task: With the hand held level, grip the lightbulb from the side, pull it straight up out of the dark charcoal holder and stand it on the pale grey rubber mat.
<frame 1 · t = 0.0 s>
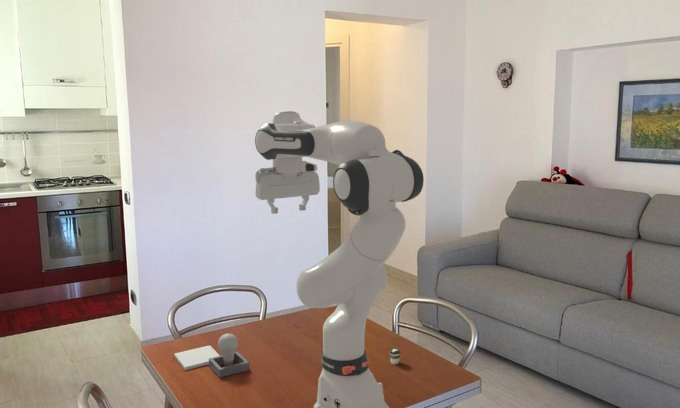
hand: (288, 211, 171), 48 cm above the table, tool pointing down, fingers open, 8 cm apart
holder: (229, 368, 175), on the table
lightbulb: (229, 368, 175), resting in holder
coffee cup: (394, 364, 177), on the table
mat: (198, 358, 182), on the table
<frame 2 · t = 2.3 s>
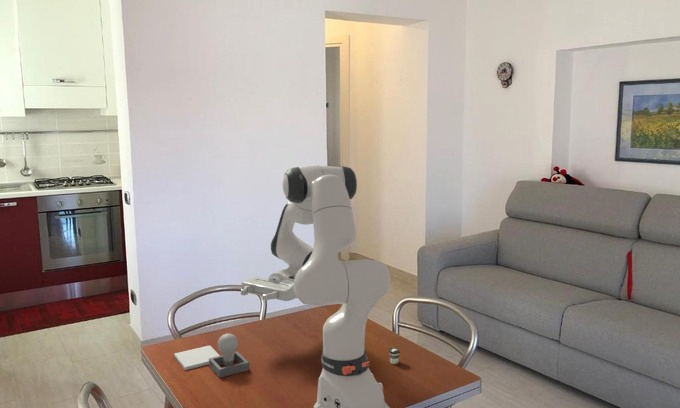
hand: (253, 295, 181), 20 cm above the table, tool horizontal, fingers open, 8 cm apart
nothing on the table moved.
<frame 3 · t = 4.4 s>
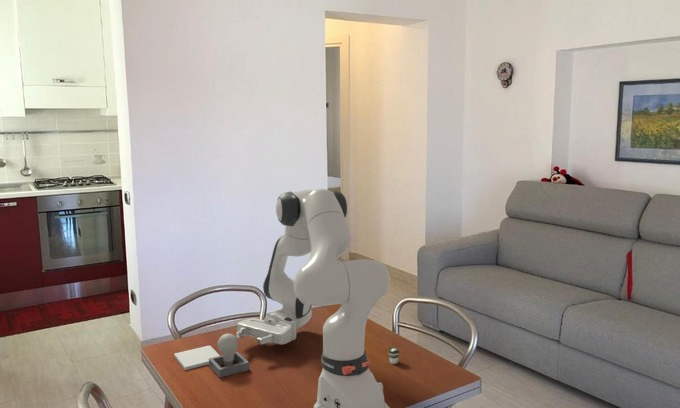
hand: (248, 338, 181), 6 cm above the table, tool horizontal, fingers open, 8 cm apart
nothing on the table moved.
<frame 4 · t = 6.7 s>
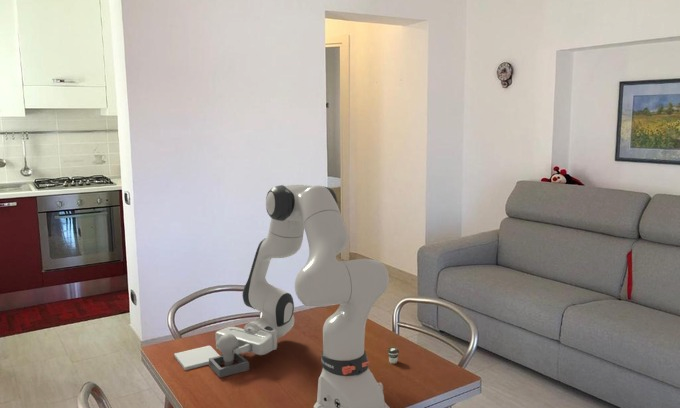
hand: (226, 349, 173), 7 cm above the table, tool horizontal, fingers closed on lightbulb, 6 cm apart
lightbulb: (229, 368, 175), resting in holder, touching gripper
everything else where it was.
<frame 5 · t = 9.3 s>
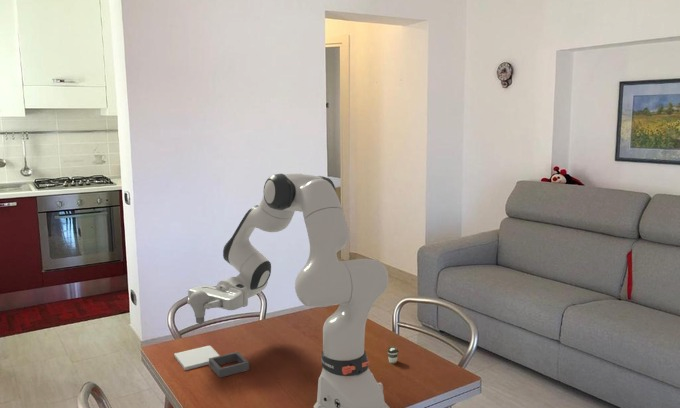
hand: (197, 304, 178), 19 cm above the table, tool horizontal, fingers closed on lightbulb, 6 cm apart
lightbulb: (200, 324, 180), point 12 cm above the table, touching gripper
everything else where it was.
when the fingers open (9 cm above the table, at t = 12.1 s): lightbulb drops 1 cm, resting on mat.
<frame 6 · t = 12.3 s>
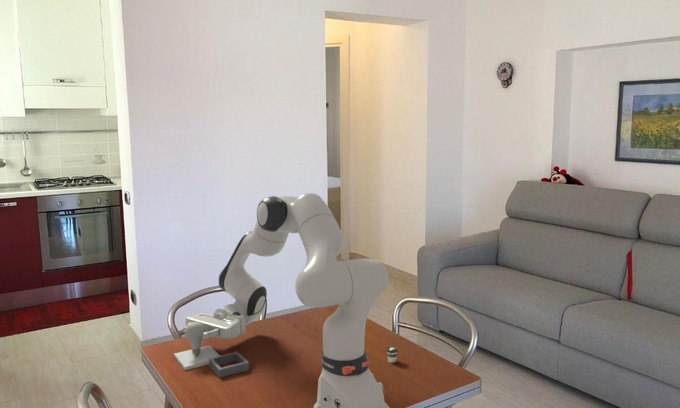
hand: (194, 333, 179), 9 cm above the table, tool horizontal, fingers open, 8 cm apart
lightbulb: (196, 355, 182), point 1 cm above the table, touching gripper, mat
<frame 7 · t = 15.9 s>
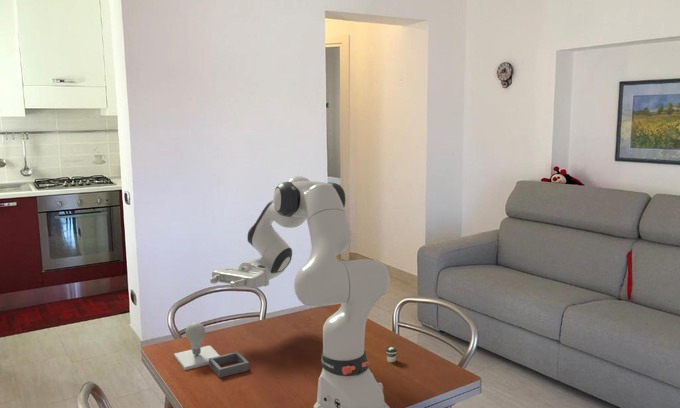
hand: (221, 283, 188), 22 cm above the table, tool horizontal, fingers open, 8 cm apart
lightbulb: (196, 355, 182), point 1 cm above the table, touching mat
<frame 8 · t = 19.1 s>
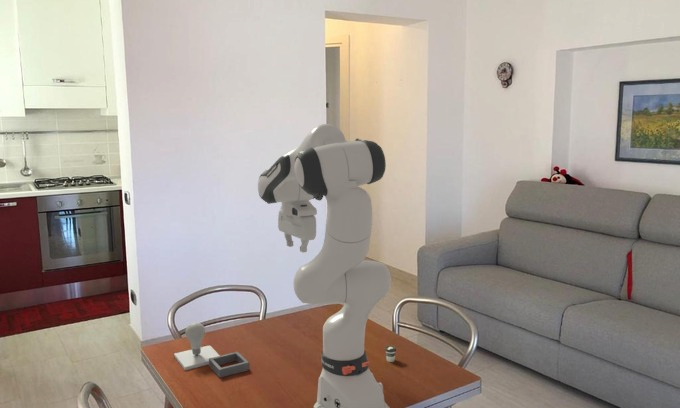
hand: (296, 249, 183), 34 cm above the table, tool pointing down, fingers open, 8 cm apart
at the end: lightbulb inside the target area on the mat (0.6 cm from its centre), point 0.8 cm above the mat's base; lightbulb tilted 0°; the gripper is holding nothing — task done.
